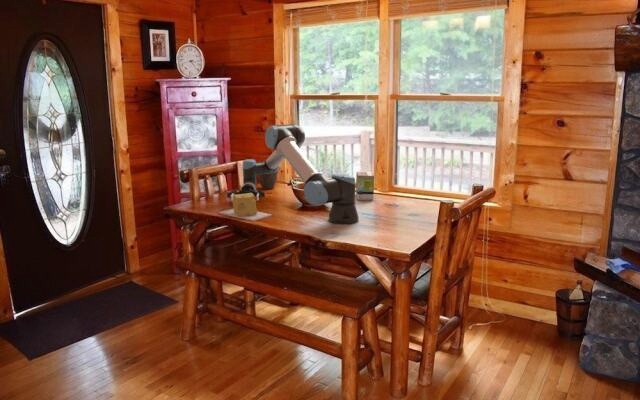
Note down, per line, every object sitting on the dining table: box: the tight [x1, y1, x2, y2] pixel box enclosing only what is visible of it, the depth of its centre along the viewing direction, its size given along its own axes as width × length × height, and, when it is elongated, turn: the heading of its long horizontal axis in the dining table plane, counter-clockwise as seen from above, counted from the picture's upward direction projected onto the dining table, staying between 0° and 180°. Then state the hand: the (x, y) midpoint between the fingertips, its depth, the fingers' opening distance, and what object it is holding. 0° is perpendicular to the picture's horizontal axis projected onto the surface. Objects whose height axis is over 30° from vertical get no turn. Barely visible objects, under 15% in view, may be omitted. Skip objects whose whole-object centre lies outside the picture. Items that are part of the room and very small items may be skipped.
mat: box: [218, 208, 272, 222], centre depth 274 cm, size 26×13×1 cm, turn 52°
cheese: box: [232, 193, 258, 216], centre depth 271 cm, size 10×11×10 cm
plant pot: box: [257, 164, 280, 191], centre depth 337 cm, size 15×15×16 cm
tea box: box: [355, 171, 375, 201], centre depth 310 cm, size 15×10×15 cm
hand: (244, 198), depth 273 cm, fingers open, 13 cm apart
